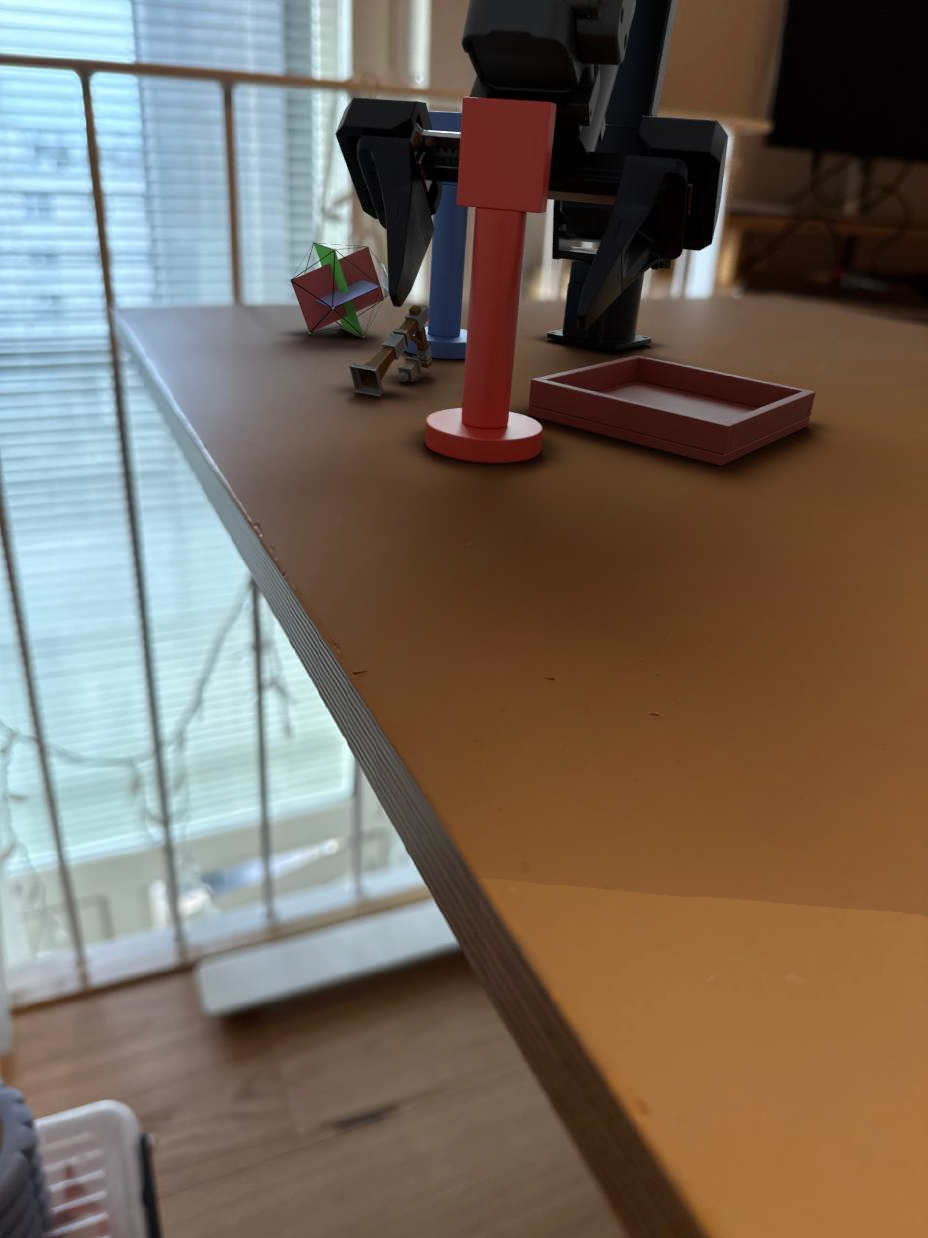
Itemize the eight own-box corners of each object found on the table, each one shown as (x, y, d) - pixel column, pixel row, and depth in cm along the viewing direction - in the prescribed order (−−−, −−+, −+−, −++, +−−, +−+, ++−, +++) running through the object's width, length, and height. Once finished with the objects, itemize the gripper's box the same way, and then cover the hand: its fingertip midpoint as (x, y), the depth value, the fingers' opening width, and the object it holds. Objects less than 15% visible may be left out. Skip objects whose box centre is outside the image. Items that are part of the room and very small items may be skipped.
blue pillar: (438, 339, 73) (450, 113, 66) (499, 353, 70) (518, 117, 62) (385, 347, 69) (392, 107, 61) (448, 362, 65) (462, 110, 58)
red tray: (631, 386, 63) (636, 354, 62) (808, 426, 56) (816, 391, 55) (527, 415, 54) (530, 378, 53) (721, 466, 47) (729, 426, 46)
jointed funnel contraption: (446, 358, 62) (436, 296, 58) (389, 430, 57) (374, 367, 54) (422, 354, 62) (411, 293, 59) (363, 425, 58) (348, 363, 55)
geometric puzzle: (289, 313, 66) (352, 218, 66) (257, 297, 72) (315, 209, 71) (361, 370, 71) (421, 282, 70) (326, 351, 76) (382, 269, 76)
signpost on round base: (446, 423, 51) (465, 100, 44) (552, 439, 50) (589, 107, 43) (407, 451, 46) (422, 90, 39) (524, 470, 45) (561, 99, 37)
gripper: (353, -102, 43) (241, 160, 38) (769, -99, 38) (697, 199, 34) (407, 103, 53) (324, 329, 49) (740, 125, 49) (682, 376, 44)
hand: (485, 312), depth 44 cm, fingers open, 9 cm apart
